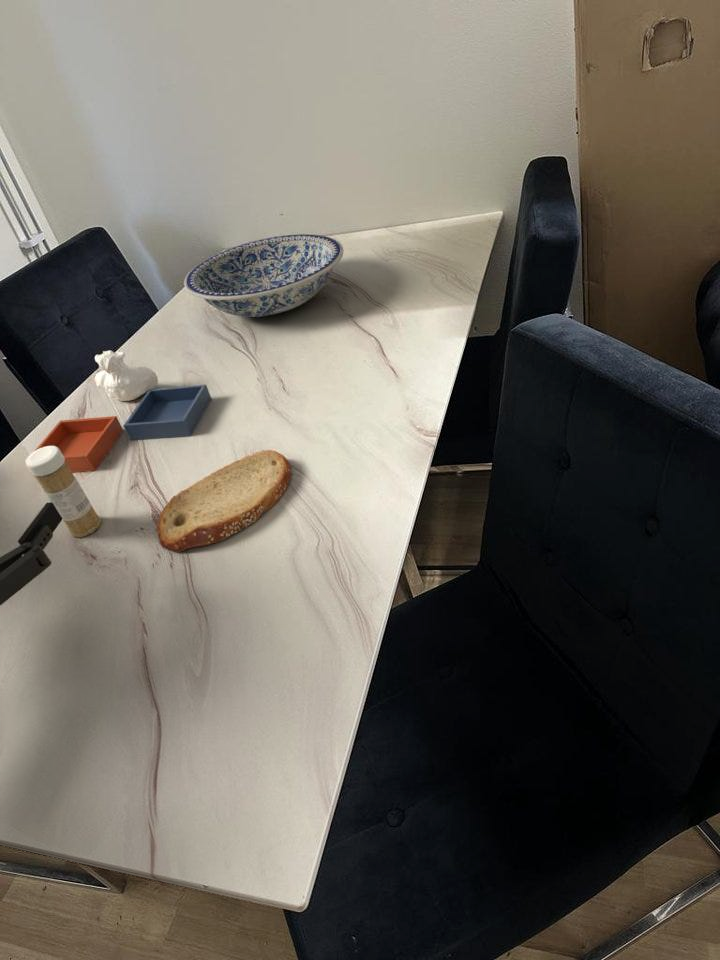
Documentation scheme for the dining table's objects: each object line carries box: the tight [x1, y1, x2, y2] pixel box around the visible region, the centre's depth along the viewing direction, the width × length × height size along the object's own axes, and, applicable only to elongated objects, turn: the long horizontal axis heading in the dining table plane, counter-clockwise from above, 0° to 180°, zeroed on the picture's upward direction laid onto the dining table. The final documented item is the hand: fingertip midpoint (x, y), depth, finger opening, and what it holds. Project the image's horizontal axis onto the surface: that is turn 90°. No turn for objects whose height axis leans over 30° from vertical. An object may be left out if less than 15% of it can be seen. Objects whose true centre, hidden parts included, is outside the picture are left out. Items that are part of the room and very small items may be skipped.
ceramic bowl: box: [183, 233, 345, 318], centre depth 143 cm, size 34×34×10 cm
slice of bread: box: [156, 449, 292, 553], centre depth 93 cm, size 18×18×4 cm
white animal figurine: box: [94, 350, 159, 402], centre depth 122 cm, size 12×8×11 cm
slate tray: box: [122, 384, 212, 441], centre depth 115 cm, size 11×11×3 cm
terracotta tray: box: [34, 415, 125, 473], centre depth 112 cm, size 11×11×3 cm
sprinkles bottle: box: [25, 446, 102, 538], centre depth 92 cm, size 5×5×13 cm
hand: (7, 512), depth 82 cm, fingers open, 13 cm apart
